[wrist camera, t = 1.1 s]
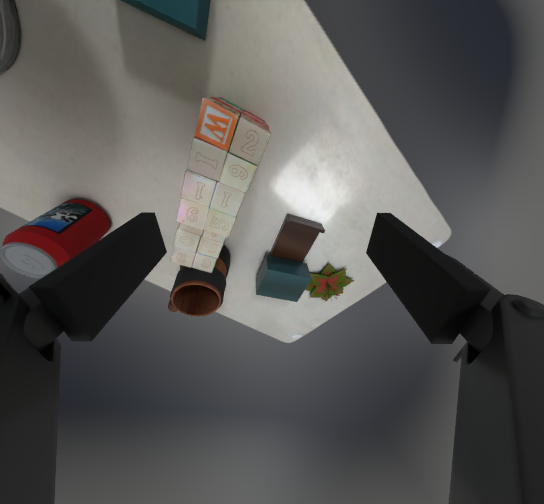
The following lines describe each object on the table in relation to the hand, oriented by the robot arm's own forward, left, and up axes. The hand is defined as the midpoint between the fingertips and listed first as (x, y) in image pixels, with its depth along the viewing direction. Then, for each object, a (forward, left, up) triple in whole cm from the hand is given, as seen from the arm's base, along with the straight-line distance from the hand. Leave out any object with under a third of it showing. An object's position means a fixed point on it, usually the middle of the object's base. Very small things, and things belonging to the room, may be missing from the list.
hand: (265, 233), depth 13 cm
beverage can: (+18, -23, -23) cm, 38 cm away
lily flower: (+21, +24, -23) cm, 39 cm away
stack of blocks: (+6, -4, -23) cm, 24 cm away
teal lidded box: (+16, +12, -23) cm, 30 cm away
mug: (+23, -4, -23) cm, 32 cm away
